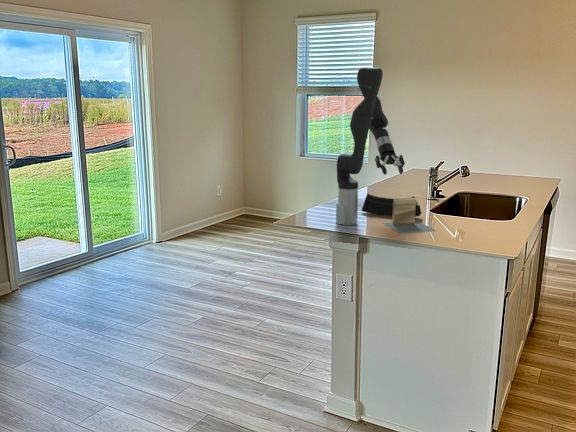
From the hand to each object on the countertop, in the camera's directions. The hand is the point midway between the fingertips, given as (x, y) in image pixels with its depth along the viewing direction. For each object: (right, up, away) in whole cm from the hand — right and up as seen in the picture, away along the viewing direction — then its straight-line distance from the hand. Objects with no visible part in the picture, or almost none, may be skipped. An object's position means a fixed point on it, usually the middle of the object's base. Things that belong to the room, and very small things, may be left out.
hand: (393, 173), depth 249 cm
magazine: (+1, -21, +11) cm, 24 cm away
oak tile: (+3, -25, -8) cm, 26 cm away
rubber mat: (+4, -26, -13) cm, 29 cm away
